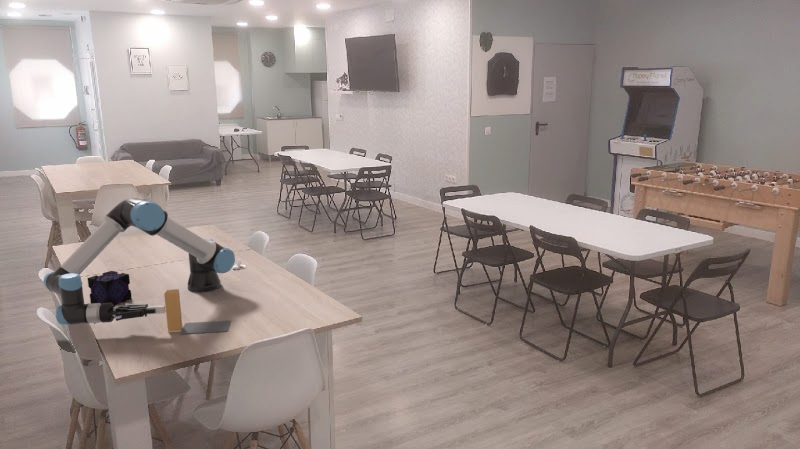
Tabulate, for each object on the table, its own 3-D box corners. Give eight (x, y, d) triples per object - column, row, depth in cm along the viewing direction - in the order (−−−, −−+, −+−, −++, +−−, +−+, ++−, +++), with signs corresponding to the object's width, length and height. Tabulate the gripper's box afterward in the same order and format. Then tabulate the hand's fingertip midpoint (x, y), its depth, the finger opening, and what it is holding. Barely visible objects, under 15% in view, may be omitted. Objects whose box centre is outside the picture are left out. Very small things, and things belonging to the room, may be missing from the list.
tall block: (168, 332, 236) (164, 293, 233) (170, 327, 241) (166, 289, 237) (180, 331, 237) (176, 293, 233) (182, 327, 241) (178, 289, 238)
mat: (179, 334, 234) (179, 333, 234) (185, 323, 244) (185, 322, 244) (227, 331, 236) (227, 330, 236) (230, 321, 247) (230, 320, 247)
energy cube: (114, 295, 279) (111, 270, 276) (131, 299, 274) (128, 274, 271) (90, 303, 269) (87, 278, 266) (108, 307, 263) (105, 281, 261)
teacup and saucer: (235, 271, 315) (235, 263, 314) (226, 268, 320) (225, 261, 319) (249, 267, 322) (248, 259, 321) (239, 264, 327) (239, 257, 326)
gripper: (108, 315, 240) (169, 312, 243) (96, 328, 227) (161, 324, 231) (105, 298, 238) (167, 294, 242) (94, 309, 226) (159, 306, 229)
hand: (164, 309), depth 236 cm, fingers closed
